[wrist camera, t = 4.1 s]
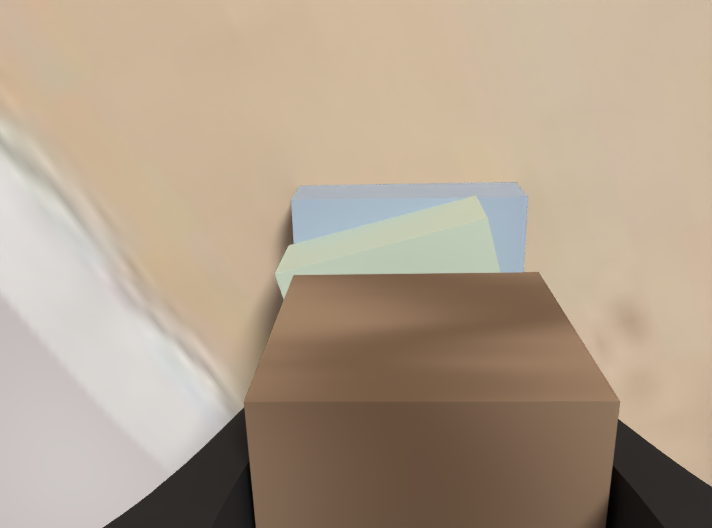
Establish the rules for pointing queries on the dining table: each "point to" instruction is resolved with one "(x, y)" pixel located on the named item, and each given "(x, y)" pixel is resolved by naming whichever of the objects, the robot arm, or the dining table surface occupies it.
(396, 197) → the slate slab
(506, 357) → the walnut cube
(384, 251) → the sage block
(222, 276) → the dining table surface
